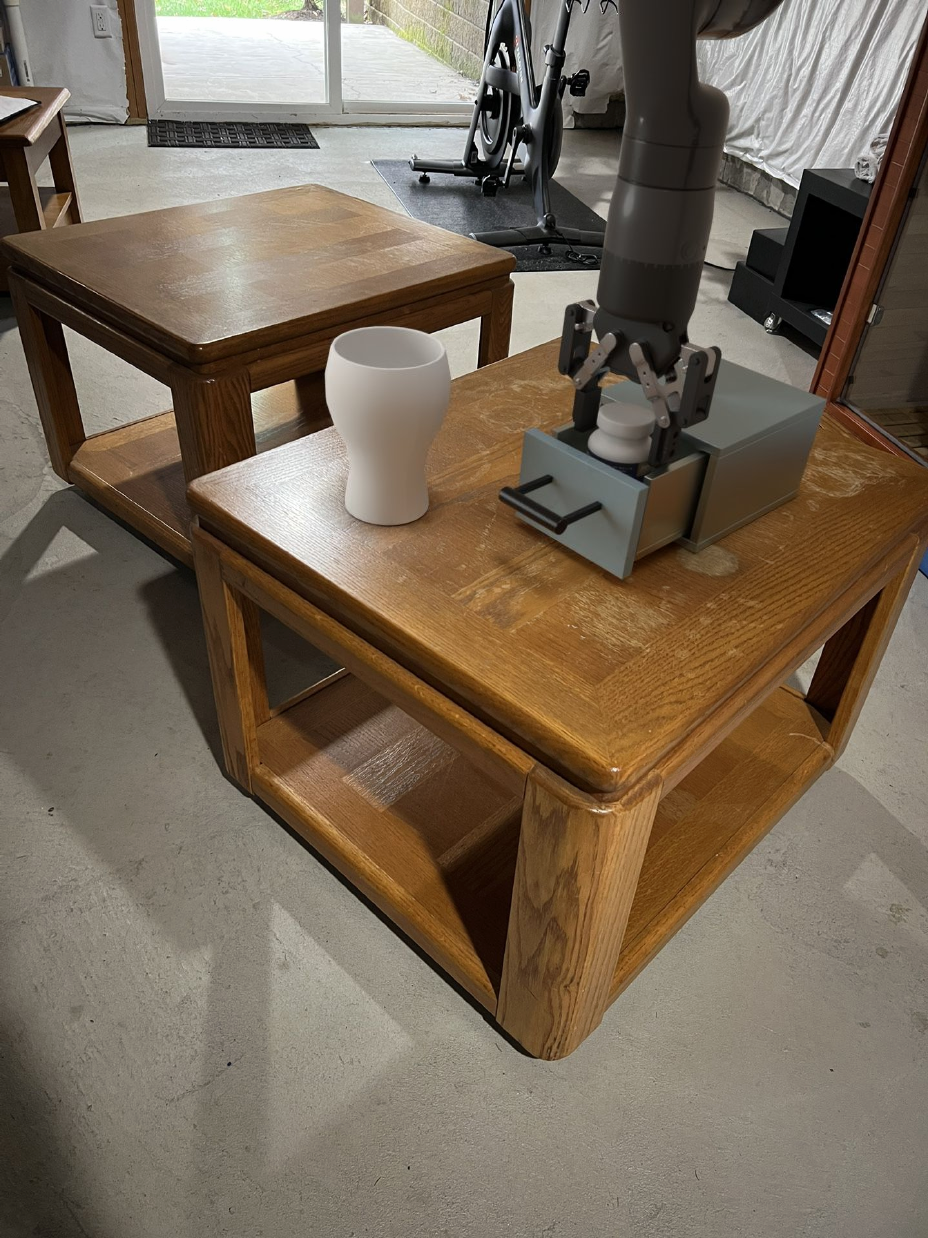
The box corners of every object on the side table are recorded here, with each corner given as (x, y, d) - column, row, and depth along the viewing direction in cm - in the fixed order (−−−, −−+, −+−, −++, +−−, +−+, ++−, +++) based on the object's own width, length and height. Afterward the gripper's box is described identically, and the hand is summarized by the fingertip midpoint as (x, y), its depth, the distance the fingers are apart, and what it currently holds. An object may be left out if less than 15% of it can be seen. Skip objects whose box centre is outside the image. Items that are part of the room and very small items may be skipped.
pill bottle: (639, 538, 80) (661, 432, 74) (573, 528, 81) (590, 422, 75) (641, 505, 85) (662, 403, 79) (578, 496, 85) (594, 394, 79)
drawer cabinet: (695, 553, 83) (721, 448, 77) (579, 490, 91) (595, 390, 84) (796, 496, 92) (827, 399, 86) (684, 444, 100) (705, 351, 94)
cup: (426, 471, 92) (432, 320, 83) (458, 527, 84) (469, 367, 75) (319, 481, 89) (313, 326, 80) (341, 541, 81) (337, 376, 72)
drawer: (575, 604, 74) (591, 513, 69) (468, 536, 81) (475, 448, 76) (730, 520, 86) (753, 437, 81) (625, 466, 93) (640, 387, 88)
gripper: (766, 261, 67) (716, 466, 77) (613, 215, 75) (586, 406, 85) (704, 279, 63) (659, 493, 73) (549, 228, 71) (528, 427, 81)
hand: (620, 446), depth 79 cm, fingers open, 7 cm apart
